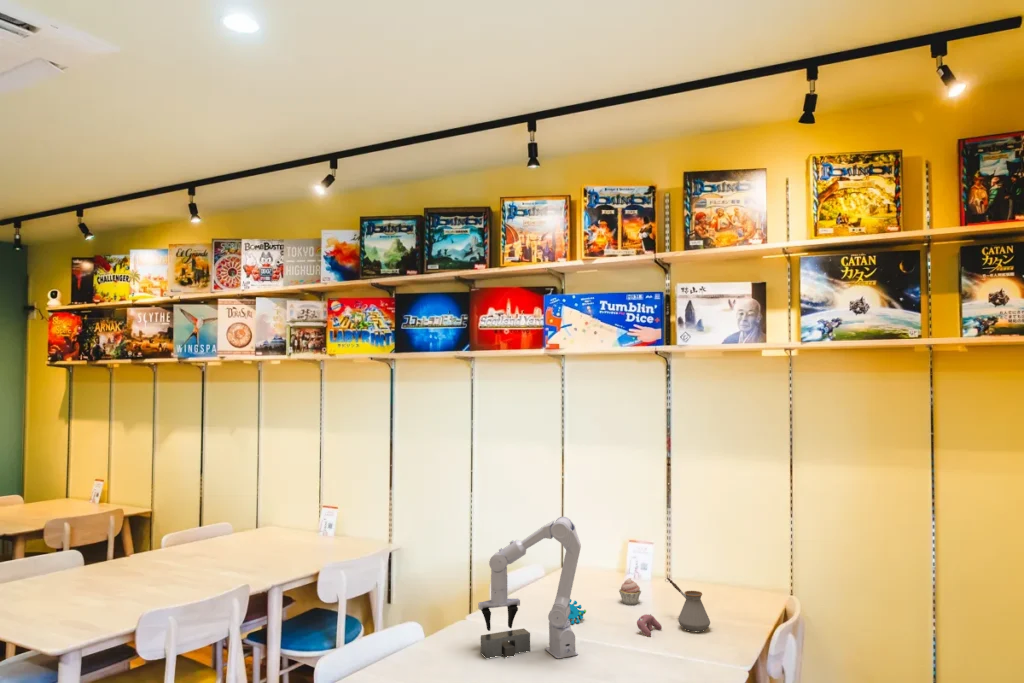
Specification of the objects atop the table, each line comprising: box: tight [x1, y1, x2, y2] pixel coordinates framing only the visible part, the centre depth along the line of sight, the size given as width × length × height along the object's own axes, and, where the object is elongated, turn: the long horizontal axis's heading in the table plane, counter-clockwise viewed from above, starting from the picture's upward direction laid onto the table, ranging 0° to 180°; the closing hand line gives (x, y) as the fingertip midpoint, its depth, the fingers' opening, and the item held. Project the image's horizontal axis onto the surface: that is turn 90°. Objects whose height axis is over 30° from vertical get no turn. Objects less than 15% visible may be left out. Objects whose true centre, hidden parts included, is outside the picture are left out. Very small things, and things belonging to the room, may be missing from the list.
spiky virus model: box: [568, 598, 587, 625], centre depth 261 cm, size 11×6×10 cm
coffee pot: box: [664, 576, 711, 632], centre depth 256 cm, size 21×12×15 cm, turn 25°
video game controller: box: [636, 613, 663, 637], centre depth 248 cm, size 10×5×7 cm, turn 141°
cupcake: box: [618, 577, 642, 606], centre depth 282 cm, size 9×9×10 cm
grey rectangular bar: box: [502, 641, 516, 658], centre depth 231 cm, size 11×3×3 cm, turn 24°
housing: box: [480, 628, 531, 659], centre depth 230 cm, size 5×16×6 cm, turn 113°
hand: (499, 628), depth 235 cm, fingers open, 7 cm apart
